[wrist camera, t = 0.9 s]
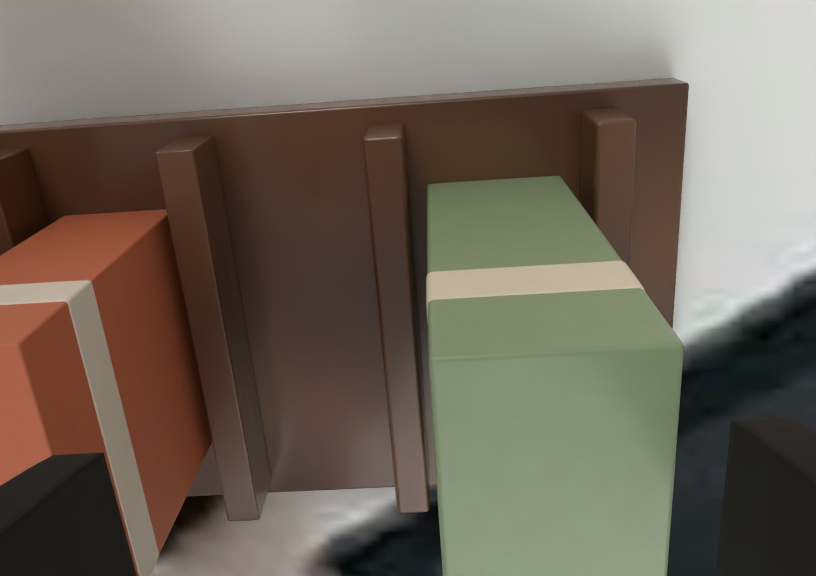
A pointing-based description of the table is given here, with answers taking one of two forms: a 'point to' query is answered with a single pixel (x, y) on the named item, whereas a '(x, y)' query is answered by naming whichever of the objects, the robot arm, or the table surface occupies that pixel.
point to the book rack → (342, 250)
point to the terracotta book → (104, 364)
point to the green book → (545, 388)
